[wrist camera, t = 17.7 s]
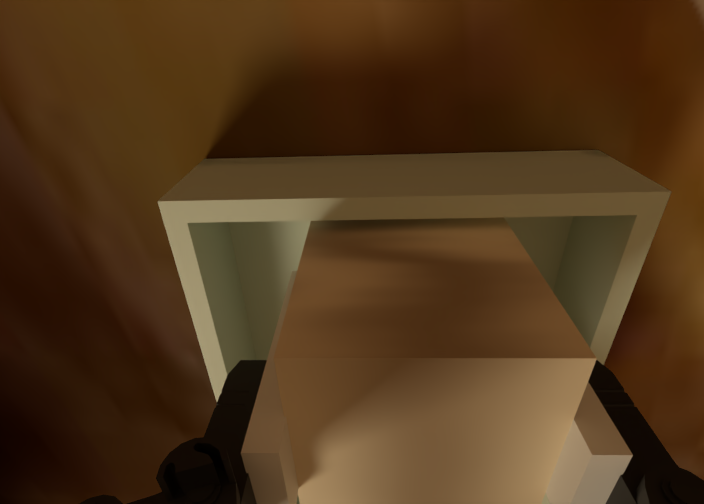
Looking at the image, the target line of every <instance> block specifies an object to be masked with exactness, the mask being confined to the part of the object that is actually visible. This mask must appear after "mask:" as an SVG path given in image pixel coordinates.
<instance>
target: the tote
mask: <svg viewBox="0 0 704 504" xmlns="http://www.w3.org/2000/svg"><path fill="white" fill-rule="evenodd" d="M671 192H672V191H670V190H668V189H666V188H665V187H663V186H661V185H659V184H658V183H656V182H654V181H652V180H651V179H649V178H647V177H645V176H644V175H642V174H640V173H638V172H637V171H635V170H633V169H631V168H630V167H628V166H626V165H624V164H623V163H621V162H619V161H617V160H616V159H614V158H612V157H610V156H609V155H607V154H605V153H603V152H602V151H600V150H568V151H525V152H481V153H438V154H394V155H351V156H307V157H264V158H220V159H204V160H203V161H202V162H201V163H199V164H198V165H197V166H196V167H195V168H194V169H193V170H192V171H191V172H190V173H188V174H187V175H186V176H185V177H184V178H183V179H182V180H181V181H180V182H178V183H177V184H176V185H175V186H174V187H173V188H172V189H171V190H170V191H168V192H167V193H166V194H165V195H164V196H163V197H162V198H161V199H160V200H158V205H159V208H160V211H161V215H162V218H163V222H164V225H165V228H166V232H167V235H168V239H169V242H170V245H171V249H172V252H173V256H174V259H175V262H176V266H177V269H178V272H179V276H180V279H181V283H182V286H183V289H184V293H185V296H186V300H187V303H188V306H189V310H190V313H191V317H192V320H193V323H194V327H195V330H196V333H197V337H198V340H199V344H200V347H201V350H202V354H203V357H204V361H205V364H206V367H207V371H208V374H209V378H210V381H211V384H212V388H213V391H214V395H215V398H216V401H218V399H219V396H220V394H221V393H222V388H223V386H224V383H225V380H226V378H227V375H228V373H229V372H230V371H231V370H232V369H233V368H234V367H235V366H236V365H237V363H238V362H239V361H240V360H267V358H268V355H269V351H270V348H271V344H272V341H273V337H274V333H275V330H276V326H277V323H278V319H279V316H280V312H281V309H282V305H283V302H284V298H285V295H286V291H287V287H288V284H289V280H290V277H291V273H292V271H297V270H298V266H299V263H300V259H301V255H302V251H303V248H304V244H305V240H306V237H307V233H308V229H309V226H310V222H311V221H323V220H381V219H440V218H498V217H504V218H505V220H506V221H507V223H508V225H509V226H510V228H511V229H512V231H513V232H514V234H515V235H516V237H517V238H518V240H519V241H520V243H521V244H522V246H523V247H524V249H525V250H526V252H527V253H528V255H529V256H530V258H531V259H532V261H533V262H534V264H535V265H536V267H537V268H538V270H539V271H540V273H541V275H542V276H543V278H544V279H545V281H546V282H547V284H548V285H549V287H550V288H551V290H552V291H553V293H554V294H555V296H556V297H557V299H558V300H559V302H560V303H561V305H562V306H563V308H564V309H565V311H566V312H567V314H568V315H569V317H570V318H571V320H572V322H573V323H574V325H575V326H576V328H577V329H578V331H579V332H580V334H581V335H582V337H583V338H584V340H585V341H586V343H587V344H588V346H589V347H590V349H591V350H592V352H593V353H594V355H595V356H596V358H597V359H596V360H598V361H599V362H600V363H601V364H603V365H604V363H605V360H606V358H607V355H608V353H609V350H610V348H611V345H612V342H613V340H614V337H615V335H616V332H617V330H618V327H619V325H620V322H621V319H622V317H623V314H624V312H625V309H626V307H627V304H628V302H629V299H630V296H631V294H632V291H633V289H634V286H635V284H636V281H637V279H638V276H639V273H640V271H641V268H642V266H643V263H644V261H645V258H646V256H647V253H648V250H649V248H650V245H651V243H652V240H653V238H654V235H655V233H656V230H657V227H658V225H659V222H660V220H661V217H662V215H663V212H664V210H665V207H666V204H667V202H668V199H669V197H670V194H671ZM296 504H300V502H299V497H298V496H297V503H296ZM541 504H549V500H548V497H547V495H546V493H545V496H544V498H543V501H542V503H541Z"/></svg>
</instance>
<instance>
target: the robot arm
mask: <svg viewBox="0 0 704 504" xmlns="http://www.w3.org/2000/svg"><path fill="white" fill-rule="evenodd" d="M296 274H297V271H292V273H291V277H290V280H289V284H288V287H287V291H286V295H285V298H284V302H283V305H282V309H281V312H280V316H279V319H278V323H277V326H276V330H275V333H274V337H273V341H272V344H271V348H270V351H269V355H268V358H267V360H240V361H239V362H238V363H237V365H236V366H235V367H234V368H233V369H232V370H231V371H230V372H229V373H228V375H227V378H226V380H225V383H224V386H223V388H222V393H221V394H220V396H219V399H218V401H217V404H216V408H215V409H214V412H213V414H212V417H211V420H210V422H209V425H208V428H207V430H206V433H205V435H204V437H203V438H194V439H192V440H189V441H187V442H184V443H182V444H181V445H179V446H178V447H177V448H175V449H174V450H173V451H171V452H170V453H169V454H168V456H167V457H166V458H165V460H164V461H163V462H162V464H161V465H160V468H159V471H158V474H157V477H156V479H157V481H158V483H159V485H160V487H161V490H162V492H161V493H158V494H156V495H153V496H150V497H147V498H144V499H140V500H137V501H134V502H131V503H128V504H296V503H297V496H298V489H299V487H298V482H297V476H296V470H295V464H294V459H293V453H292V447H291V442H290V436H289V430H288V424H287V419H286V416H284V413H283V408H282V402H281V397H280V391H279V385H278V380H277V374H276V369H275V363H274V354H275V351H276V347H277V343H278V340H279V336H280V332H281V329H282V325H283V321H284V318H285V314H286V310H287V307H288V303H289V299H290V296H291V292H292V288H293V285H294V281H295V277H296ZM546 495H547V497H548V500H549V503H550V504H704V481H703V480H702V479H700V478H699V477H697V476H696V475H694V474H693V473H691V472H689V471H687V470H684V469H682V468H679V467H678V466H677V464H676V463H675V462H674V461H673V459H672V458H671V456H670V455H669V453H668V452H667V451H666V449H665V448H664V446H663V445H662V443H661V442H660V440H659V439H658V438H657V436H656V435H655V433H654V432H653V430H652V429H651V427H650V426H649V425H648V423H647V422H646V420H645V419H644V417H643V416H642V414H641V413H640V412H639V410H638V409H637V407H634V403H633V401H632V400H631V399H630V397H629V396H628V394H627V393H625V392H624V388H623V387H622V386H621V384H620V383H619V381H618V380H617V378H616V377H615V375H614V374H613V373H612V372H611V371H610V370H609V369H608V368H606V367H605V366H604V365H603V364H601V363H600V362H599V361H598V360H596V362H595V365H594V367H593V370H592V373H591V375H590V378H589V380H588V383H587V386H586V388H585V391H584V394H583V396H582V399H581V401H580V404H579V407H578V409H577V412H576V414H575V417H574V419H573V422H572V424H571V427H570V430H569V432H568V435H567V437H566V440H565V443H564V445H563V448H562V451H561V453H560V456H559V458H558V461H557V464H556V466H555V469H554V471H553V474H552V477H551V479H550V482H549V485H548V487H547V490H546ZM80 504H123V503H121V502H120V501H119V500H118V499H117V498H116V497H114V496H108V495H101V496H96V497H92V498H89V499H87V500H85V501H83V502H82V503H80Z"/></svg>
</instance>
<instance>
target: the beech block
mask: <svg viewBox="0 0 704 504" xmlns="http://www.w3.org/2000/svg"><path fill="white" fill-rule="evenodd" d="M596 359H597V358H596V356H595V355H594V353H593V352H592V350H591V349H590V347H589V346H588V344H587V343H586V341H585V340H584V338H583V337H582V335H581V334H580V332H579V331H578V329H577V328H576V326H575V325H574V323H573V322H572V320H571V318H570V317H569V315H568V314H567V312H566V311H565V309H564V308H563V306H562V305H561V303H560V302H559V300H558V299H557V297H556V296H555V294H554V293H553V291H552V290H551V288H550V287H549V285H548V284H547V282H546V281H545V279H544V278H543V276H542V275H541V273H540V271H539V270H538V268H537V267H536V265H535V264H534V262H533V261H532V259H531V258H530V256H529V255H528V253H527V252H526V250H525V249H524V247H523V246H522V244H521V243H520V241H519V240H518V238H517V237H516V235H515V234H514V232H513V231H512V229H511V228H510V226H509V225H508V223H507V221H506V220H505V218H504V217H498V218H440V219H381V220H323V221H311V222H310V226H309V229H308V233H307V237H306V240H305V244H304V248H303V251H302V255H301V259H300V263H299V266H298V270H297V274H296V277H295V281H294V285H293V288H292V292H291V296H290V299H289V303H288V307H287V310H286V314H285V318H284V321H283V325H282V329H281V332H280V336H279V340H278V343H277V347H276V351H275V354H274V363H275V369H276V374H277V380H278V385H279V391H280V397H281V402H282V408H283V413H284V416H286V419H287V424H288V430H289V436H290V442H291V447H292V453H293V459H294V464H295V470H296V476H297V482H298V487H299V489H298V497H299V502H300V504H541V503H542V501H543V498H544V496H545V493H546V490H547V487H548V485H549V482H550V479H551V477H552V474H553V471H554V469H555V466H556V464H557V461H558V458H559V456H560V453H561V451H562V448H563V445H564V443H565V440H566V437H567V435H568V432H569V430H570V427H571V424H572V422H573V419H574V417H575V414H576V412H577V409H578V407H579V404H580V401H581V399H582V396H583V394H584V391H585V388H586V386H587V383H588V380H589V378H590V375H591V373H592V370H593V367H594V365H595V362H596Z"/></svg>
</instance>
